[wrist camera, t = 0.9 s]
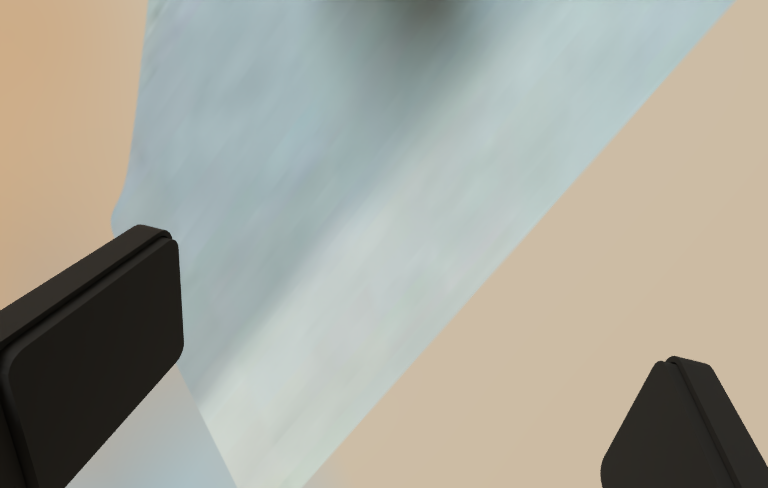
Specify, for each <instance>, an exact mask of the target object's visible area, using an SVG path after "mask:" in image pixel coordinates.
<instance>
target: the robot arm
mask: <svg viewBox="0 0 768 488" xmlns="http://www.w3.org/2000/svg"><path fill="white" fill-rule="evenodd" d="M183 347H184V336H183V319H182V301H181V284H180V267H179V249H178V244H177V242H176V241H175V240H173V239H172V236H171V234H170V233H169V232H168V231H166V230H162V229H158V228H154V227H150V226H146V225H136V226H134V227H132V228H131V229H129V230H127V231H126V232H124V233H123V234H121V235H120V236H118V237H116V238H115V239H113V240H112V241H110V242H108V243H107V244H105V245H104V246H102V247H101V248H99V249H97V250H96V251H94V252H93V253H91V254H89V255H88V256H86V257H85V258H83V259H81V260H80V261H78V262H77V263H75V264H73V265H72V266H70V267H69V268H67V269H66V270H64V271H62V272H61V273H59V274H58V275H56V276H54V277H53V278H51V279H50V280H48V281H47V282H45V283H43V284H42V285H40V286H39V287H37V288H35V289H34V290H32V291H31V292H29V293H27V294H26V295H24V296H23V297H21V298H19V299H18V300H16V301H15V302H13V303H12V304H10V305H8V306H7V307H5V308H4V309H2V310H0V488H65V487H66V486H67V484H68V483H69V482H70V481H71V480H72V479H73V478H74V477H75V476H76V474H77V473H78V472H79V471H80V470H81V469H82V468H83V467H84V465H85V464H86V463H87V462H88V461H89V460H90V459H91V457H92V456H93V455H94V454H95V453H96V452H97V451H98V450H99V449H100V447H101V446H102V445H103V444H104V443H105V442H106V441H107V439H108V438H109V437H110V436H111V435H112V434H113V433H114V432H115V431H116V429H117V428H118V427H119V426H120V425H121V424H122V423H123V421H124V420H125V419H126V418H127V417H128V416H129V415H130V414H131V412H132V411H133V410H134V409H135V408H136V407H137V406H138V405H139V403H140V402H141V401H142V400H143V399H144V398H145V397H146V396H147V394H148V393H149V392H150V391H151V390H152V389H153V388H154V387H155V385H156V384H157V383H158V382H159V381H160V380H161V379H162V378H163V376H164V375H165V374H166V373H167V372H168V371H169V370H170V368H171V367H172V366H173V365H174V364H175V363H176V362H177V360H178V359H179V357H180V356H181V353H182V351H183ZM601 482H602V487H603V488H768V467H767V465H766V463H765V461H764V460H763V458H762V456H761V454H760V452H759V451H758V449H757V447H756V445H755V444H754V442H753V440H752V438H751V436H750V435H749V433H748V431H747V429H746V427H745V426H744V424H743V422H742V420H741V419H740V417H739V415H738V413H737V411H736V410H735V408H734V406H733V404H732V403H731V401H730V399H729V397H728V395H727V394H726V392H725V390H724V388H723V386H722V385H721V383H720V381H719V380H718V378H717V376H716V374H715V372H714V370H713V369H712V368H711V366H710V365H708V364H705V363H701V362H697V361H693V360H689V359H685V358H680V357H677V356H672V357H669V358H668V359H667V360H666V362H663V361H658V362H657V363H655V365H654V367H653V368H652V370H651V372H650V374H649V375H648V377H647V379H646V381H645V383H644V385H643V386H642V388H641V390H640V392H639V394H638V396H637V397H636V399H635V401H634V403H633V405H632V407H631V408H630V410H629V412H628V414H627V416H626V418H625V420H624V421H623V423H622V425H621V427H620V429H619V431H618V432H617V434H616V436H615V438H614V440H613V442H612V443H611V445H610V447H609V449H608V451H607V453H606V454H605V456H604V458H603V461H602V465H601Z"/></svg>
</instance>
